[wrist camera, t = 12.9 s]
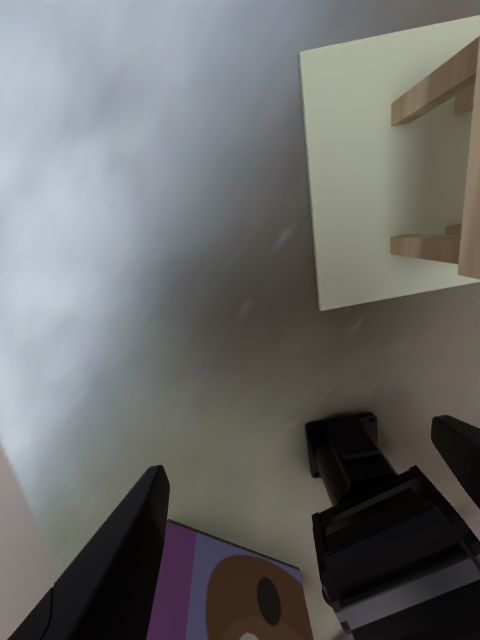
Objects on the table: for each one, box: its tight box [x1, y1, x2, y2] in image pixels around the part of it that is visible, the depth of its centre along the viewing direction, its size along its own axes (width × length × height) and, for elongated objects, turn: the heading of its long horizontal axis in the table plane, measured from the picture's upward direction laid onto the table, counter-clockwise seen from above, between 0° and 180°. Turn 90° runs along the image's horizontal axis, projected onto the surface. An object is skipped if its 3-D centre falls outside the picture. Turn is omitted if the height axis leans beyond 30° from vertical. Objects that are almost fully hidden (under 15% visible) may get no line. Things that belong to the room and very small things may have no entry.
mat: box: [298, 15, 480, 311], centre depth 18 cm, size 16×16×1 cm
